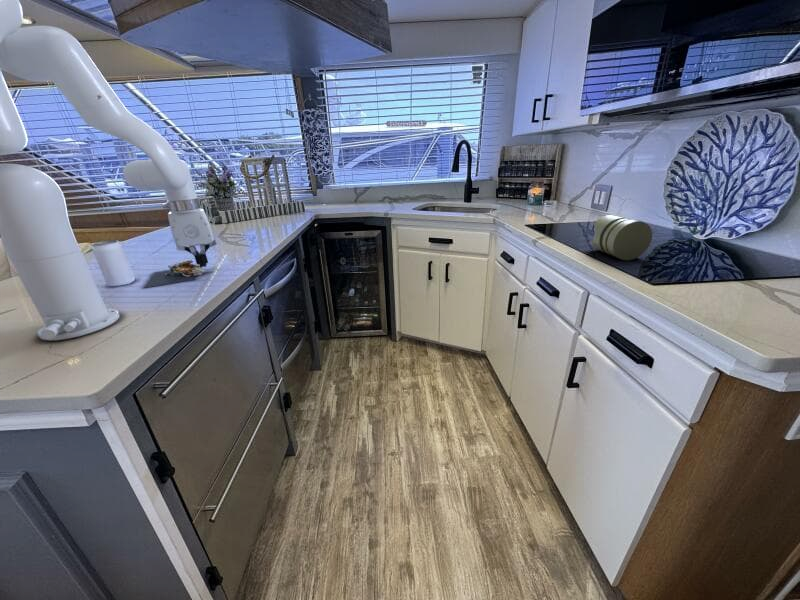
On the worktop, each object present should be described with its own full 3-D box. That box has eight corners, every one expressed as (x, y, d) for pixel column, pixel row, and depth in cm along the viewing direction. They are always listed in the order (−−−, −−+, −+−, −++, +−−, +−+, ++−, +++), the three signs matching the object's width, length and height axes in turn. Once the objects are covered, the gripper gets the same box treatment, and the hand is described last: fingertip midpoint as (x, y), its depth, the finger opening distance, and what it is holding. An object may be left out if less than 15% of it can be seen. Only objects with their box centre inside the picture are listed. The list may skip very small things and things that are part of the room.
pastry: (197, 277, 95) (193, 265, 94) (163, 276, 98) (159, 265, 96) (214, 269, 102) (210, 258, 100) (181, 269, 104) (178, 258, 103)
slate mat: (194, 280, 93) (194, 279, 93) (144, 288, 89) (144, 287, 89) (198, 266, 107) (197, 266, 107) (154, 272, 102) (154, 272, 102)
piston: (618, 249, 106) (626, 214, 101) (646, 259, 95) (657, 220, 90) (585, 250, 105) (592, 215, 101) (609, 261, 94) (618, 222, 90)
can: (119, 287, 90) (102, 245, 85) (101, 286, 91) (83, 245, 86) (141, 279, 96) (125, 240, 91) (123, 279, 97) (107, 239, 92)
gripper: (151, 210, 87) (174, 273, 95) (213, 204, 93) (229, 265, 101) (156, 207, 93) (177, 267, 101) (213, 202, 99) (229, 259, 107)
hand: (203, 265), depth 101 cm, fingers closed
